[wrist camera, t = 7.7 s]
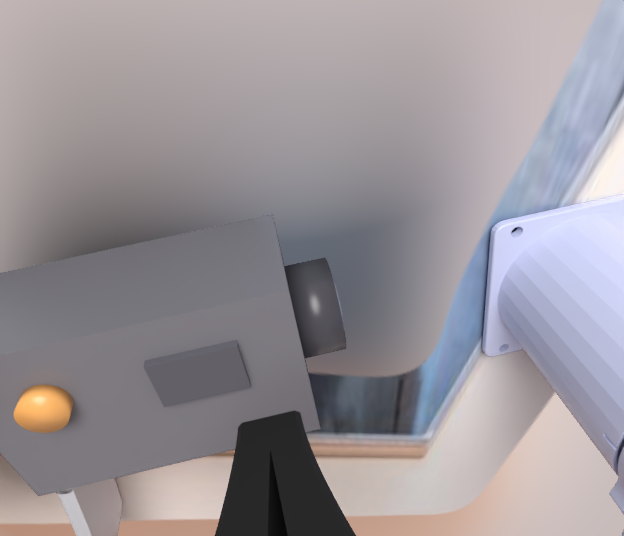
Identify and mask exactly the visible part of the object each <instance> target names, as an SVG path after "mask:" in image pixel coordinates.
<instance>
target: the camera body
mask: <svg viewBox="0 0 624 536" xmlns="http://www.w3.org/2000/svg"><path fill="white" fill-rule="evenodd" d="M343 349H346V339H345V332H344V321H343V316H342V310H341V306H340V301H339V297H338V293H337V289H336V286H335V282H334V279H333V277H332V274H331V271H330V268H329V265H328V262H327V260H326V258H321V259H316V260H311V261H307V262H302V263H298V264H293V265H289V266H284V262H283V258H282V253H281V249H280V244H279V240H278V236H277V231H276V227H275V222H274V218H273V215H267V216H263V217H258V218H254V219H249V220H244V221H239V222H235V223H230V224H225V225H221V226H216V227H212V228H207V229H202V230H198V231H193V232H188V233H184V234H180V235H175V236H170V237H165V238H161V239H156V240H152V241H147V242H143V243H138V244H133V245H128V246H124V247H119V248H114V249H110V250H105V251H100V252H96V253H91V254H86V255H82V256H77V257H73V258H68V259H63V260H59V261H54V262H50V263H45V264H40V265H36V266H31V267H26V268H22V269H17V270H13V271H8V272H4V273H0V454H1V455H2V456H3V457H4V458H5V459H6V460H7V461H8V463H9V464H10V465H11V466H12V467H13V468H14V469H15V470H16V471H17V473H18V474H19V475H20V476H21V477H22V478H23V479H24V480H25V482H26V483H27V484H28V485H29V486H30V487H31V488H32V489H33V490H34V492H35V493H36V494H37V495H38V496H41V495H46V494H50V493H54V492H58V491H62V490H67V489H71V488H75V487H79V486H83V485H87V484H92V483H96V482H100V481H104V480H108V479H113V478H117V477H121V476H125V475H129V474H134V473H138V472H142V471H146V470H150V469H154V468H159V467H163V466H167V465H171V464H175V463H180V462H184V461H188V460H192V459H196V458H201V457H205V456H209V455H213V454H217V453H221V452H226V451H230V450H234V449H235V448H236V441H237V433H238V427H239V426H240V424H241V423H243V422H247V421H252V420H256V419H260V418H264V417H268V416H273V415H277V414H281V413H285V412H290V411H294V410H295V411H298V412H300V413H301V417H302V421H303V425H304V429H305V432H309V431H314V430H318V429H320V425H319V420H318V416H317V411H316V406H315V402H314V397H313V393H312V388H311V383H310V379H309V374H308V369H307V365H306V360H305V358H308V357H312V356H317V355H321V354H325V353H330V352H334V351H338V350H343Z"/></svg>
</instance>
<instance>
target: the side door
mask: <svg viewBox="0 0 624 536" xmlns="http://www.w3.org/2000/svg"><path fill="white" fill-rule="evenodd" d="M56 493H58V495H59V498H60V500H61V502H62V504H63V507H64V509H65V511H66V513H67V516H68V518H69V520H70V522H71V524H72V527H73V529H74V531H75V533H76V536H118V530H119V524H120V518H121V511H122V505H123V503H122V500H121V497H120V494H119V490H118V487H117V484H116V481H115V478H113V479H108V480H104V481H100V482H96V483H92V484H87V485H83V486H79V487H75V488H71V489H67V490H62V491H58V492H56Z"/></svg>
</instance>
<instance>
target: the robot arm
mask: <svg viewBox="0 0 624 536" xmlns="http://www.w3.org/2000/svg"><path fill="white" fill-rule="evenodd" d="M516 227H518V228H517V230H516V231H515V232H513V233H511V232H512V230H513V229H514V228H516ZM482 349H483V351H484V353H485V354H486V355H487V356H490V357H491V356H497V355H501V354H506V353H510V352H514V351H518V350H523V349H524V350H525V352H526V353H527V354H528V356H529V357H530V358H531V360H532V361H533V363H534V364H535V365H536V367H537V368H538V369H539V371H540V372H541V373H542V375H543V376H544V377H545V379H546V380H547V381H548V383H549V384H550V385H551V387H552V388H553V389H554V391H555V392H556V393H557V395H558V396H559V397H560V399H561V400H562V401H563V403H564V404H565V405H566V407H567V408H568V409H569V411H570V412H571V413H572V415H573V416H574V417H575V419H576V420H577V422H578V423H579V424H580V425H581V427H582V428H583V429H584V431H585V432H586V434H587V435H588V436H589V438H590V439H591V440H592V442H593V443H594V444H595V445H596V447H597V448H598V450H599V451H600V452H601V454H602V455H603V456H604V458H605V459H606V460H607V461H608V463H609V464H610V466H611V467H612V468H613V470H614V471H615V472H616V474H617V475H618V481H617V483H616V484H615V486H614V487H613V489H612V490H611V491H610V493H609V494H610V495H611V497H612V498H613V500H614V501H615V503H616V504H617V505H618V507H619V508H620V510H621V511H622V513H623V514H624V194H621V195H616V196H612V197H607V198H603V199H598V200H594V201H589V202H585V203H580V204H576V205H571V206H567V207H562V208H558V209H553V210H549V211H544V212H540V213H535V214H531V215H526V216H522V217H517V218H513V219H508V220H504V221H501V222H498V223H497V224H496V225H495V226H494V227H493V228H492V231H491V238H490V251H489V264H488V277H487V291H486V304H485V317H484V330H483V344H482ZM215 536H356V535H355V533H354V532H353V530H352V528H351V527H350V525H349V523H348V521H347V520H346V518H345V516H344V514H343V513H342V511H341V509H340V507H339V505H338V504H337V502H336V500H335V498H334V496H333V494H332V492H331V490H330V488H329V486H328V484H327V482H326V480H325V478H324V476H323V474H322V472H321V470H320V468H319V466H318V464H317V461H316V459H315V457H314V454H313V452H312V449H311V447H310V444H309V442H308V439H307V436H306V432H305V429H304V425H303V421H302V417H301V413H300V412H298V411H295V410H294V411H290V412H285V413H281V414H277V415H273V416H268V417H264V418H260V419H256V420H252V421H247V422H243V423H241V424H240V426H239V427H238V433H237V441H236V448H235V454H234V460H233V465H232V470H231V474H230V479H229V484H228V488H227V492H226V496H225V500H224V504H223V508H222V511H221V515H220V519H219V523H218V527H217V530H216V534H215ZM622 536H624V530H623V533H622Z"/></svg>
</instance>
